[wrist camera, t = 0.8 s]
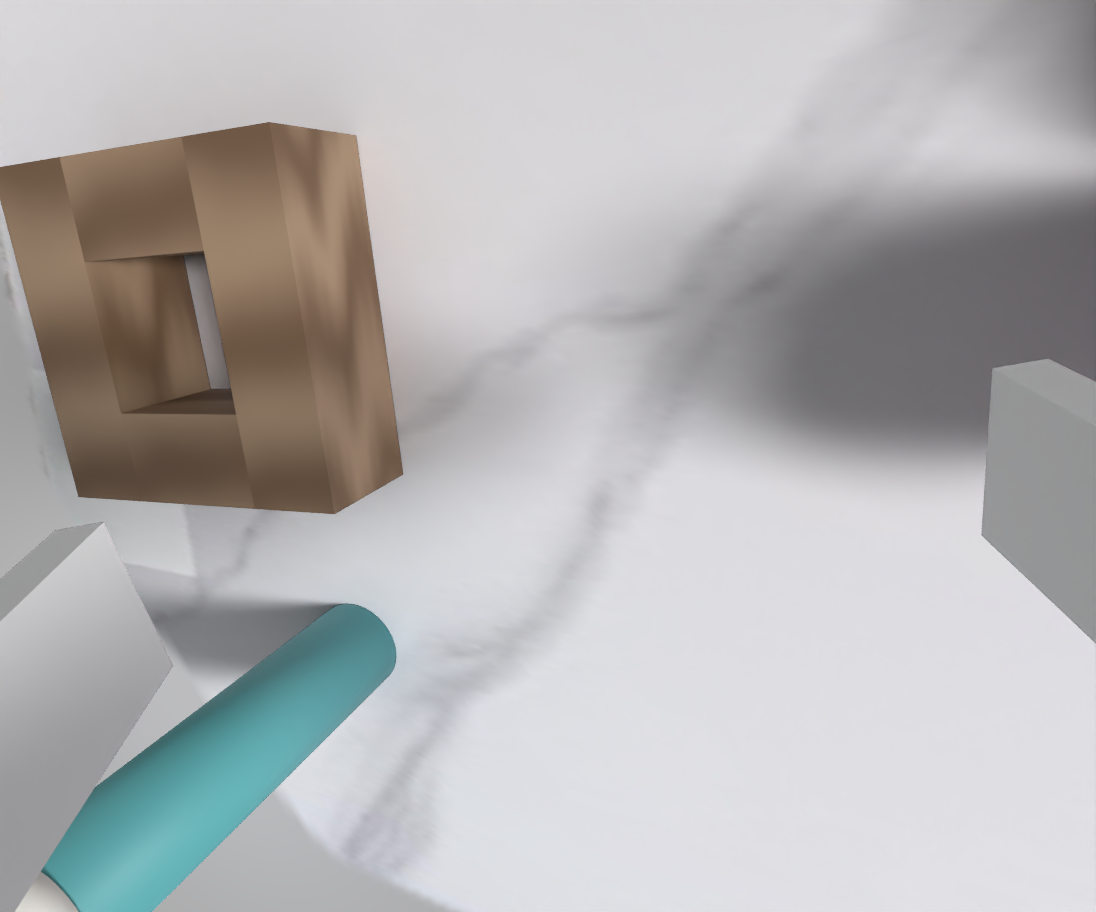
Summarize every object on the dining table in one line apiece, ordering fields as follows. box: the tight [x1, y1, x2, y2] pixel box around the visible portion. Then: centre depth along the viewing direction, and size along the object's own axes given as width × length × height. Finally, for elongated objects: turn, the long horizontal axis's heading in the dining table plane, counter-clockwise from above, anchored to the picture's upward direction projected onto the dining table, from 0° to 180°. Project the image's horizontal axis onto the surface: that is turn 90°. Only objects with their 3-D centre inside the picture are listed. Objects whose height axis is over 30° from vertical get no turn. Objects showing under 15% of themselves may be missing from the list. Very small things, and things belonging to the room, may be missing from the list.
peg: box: [15, 604, 396, 912], centre depth 30 cm, size 5×5×18 cm
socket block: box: [0, 122, 403, 514], centre depth 32 cm, size 14×14×5 cm
